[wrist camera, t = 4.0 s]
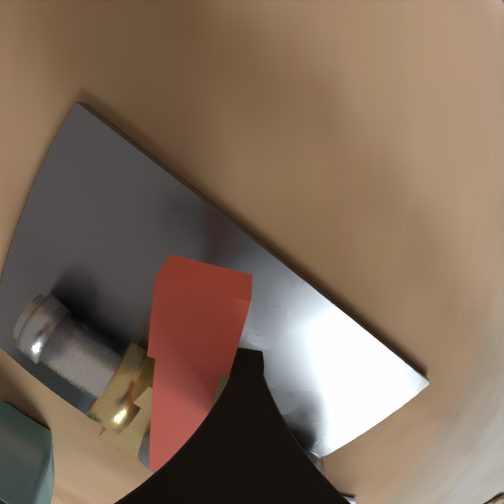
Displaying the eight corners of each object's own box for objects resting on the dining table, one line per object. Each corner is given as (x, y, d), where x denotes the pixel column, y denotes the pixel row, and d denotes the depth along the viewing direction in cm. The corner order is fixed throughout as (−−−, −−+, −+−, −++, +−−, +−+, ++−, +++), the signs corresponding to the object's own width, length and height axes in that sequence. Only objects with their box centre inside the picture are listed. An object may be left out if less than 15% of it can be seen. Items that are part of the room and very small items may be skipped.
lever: (205, 469, 13) (201, 499, 11) (143, 454, 13) (134, 483, 11) (270, 270, 9) (272, 306, 7) (158, 243, 9) (134, 272, 7)
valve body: (426, 376, 15) (455, 431, 11) (249, 486, 20) (248, 532, 16) (83, 102, 10) (13, 99, 6) (-6, 331, 15) (-42, 370, 11)
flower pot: (-16, 373, 17) (-68, 444, 9) (71, 428, 18) (29, 518, 10) (-2, 423, 20) (-37, 483, 12) (71, 467, 21) (43, 536, 13)
